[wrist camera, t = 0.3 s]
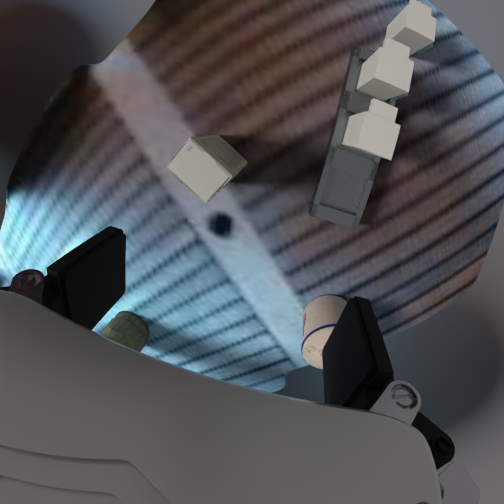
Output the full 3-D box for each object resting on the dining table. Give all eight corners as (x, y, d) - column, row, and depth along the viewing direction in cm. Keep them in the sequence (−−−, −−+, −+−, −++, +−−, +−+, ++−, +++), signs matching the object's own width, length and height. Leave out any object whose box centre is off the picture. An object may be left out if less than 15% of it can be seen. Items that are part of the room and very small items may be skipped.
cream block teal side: (363, 54, 27) (383, 33, 19) (395, 67, 27) (422, 52, 19) (355, 90, 29) (374, 77, 21) (388, 102, 29) (414, 95, 21)
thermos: (162, 336, 54) (84, 476, 22) (128, 346, 58) (55, 462, 26) (137, 303, 51) (37, 441, 20) (105, 317, 55) (17, 430, 23)
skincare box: (198, 155, 38) (162, 165, 27) (218, 133, 36) (187, 134, 25) (230, 185, 39) (205, 206, 28) (250, 164, 38) (232, 176, 27)
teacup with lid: (292, 306, 46) (290, 354, 36) (340, 284, 43) (351, 329, 33) (321, 350, 50) (323, 397, 39) (364, 332, 47) (376, 378, 36)
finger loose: (388, 17, 25) (409, -5, 17) (416, 30, 25) (442, 12, 16) (383, 45, 27) (405, 26, 19) (412, 58, 27) (439, 44, 19)
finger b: (352, 104, 30) (370, 95, 22) (384, 117, 30) (410, 113, 22) (341, 144, 33) (356, 147, 25) (374, 155, 33) (397, 163, 25)
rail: (351, 50, 29) (355, 44, 26) (396, 68, 28) (403, 64, 26) (308, 209, 39) (309, 215, 36) (352, 223, 39) (356, 229, 36)
